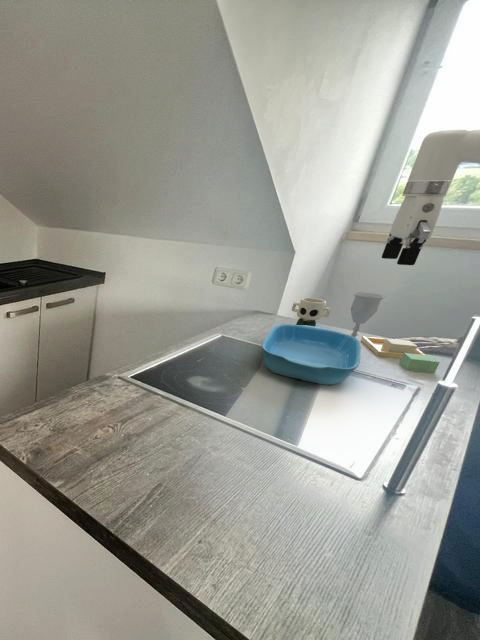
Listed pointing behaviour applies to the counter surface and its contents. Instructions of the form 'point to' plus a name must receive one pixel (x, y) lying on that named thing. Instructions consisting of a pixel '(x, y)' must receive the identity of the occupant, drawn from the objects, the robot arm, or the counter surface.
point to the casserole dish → (311, 353)
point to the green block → (419, 362)
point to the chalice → (364, 308)
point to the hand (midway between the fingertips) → (396, 261)
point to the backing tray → (376, 346)
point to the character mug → (310, 311)
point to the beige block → (398, 346)
